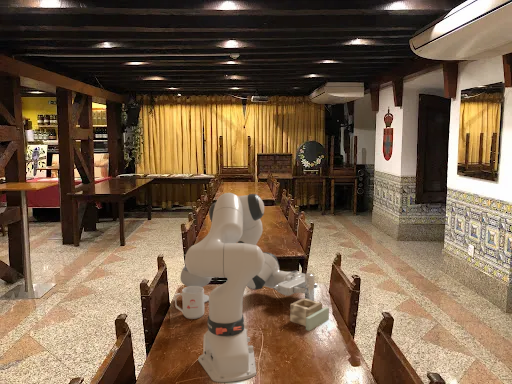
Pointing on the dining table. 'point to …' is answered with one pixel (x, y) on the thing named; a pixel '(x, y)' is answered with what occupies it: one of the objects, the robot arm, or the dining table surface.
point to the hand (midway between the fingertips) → (311, 288)
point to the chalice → (194, 280)
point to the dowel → (309, 286)
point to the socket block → (303, 310)
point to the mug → (192, 302)
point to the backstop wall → (317, 318)
